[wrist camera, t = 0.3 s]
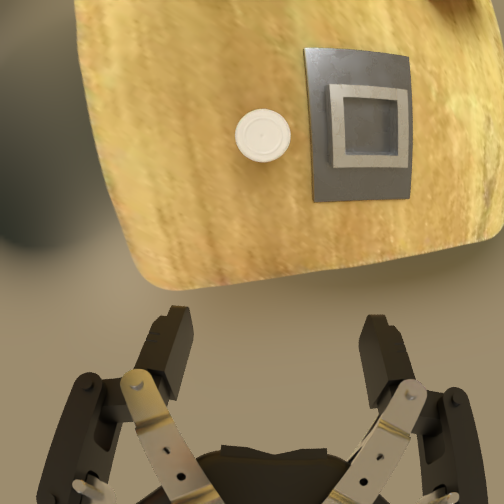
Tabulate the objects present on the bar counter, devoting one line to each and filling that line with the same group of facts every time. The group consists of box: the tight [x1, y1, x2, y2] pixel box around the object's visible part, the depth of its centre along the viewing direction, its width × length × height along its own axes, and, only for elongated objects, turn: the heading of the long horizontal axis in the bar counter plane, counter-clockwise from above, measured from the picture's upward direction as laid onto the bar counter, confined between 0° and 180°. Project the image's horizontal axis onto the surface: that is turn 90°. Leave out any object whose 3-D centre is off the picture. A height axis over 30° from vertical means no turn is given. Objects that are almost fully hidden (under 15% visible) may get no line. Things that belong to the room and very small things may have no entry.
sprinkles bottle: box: [235, 109, 291, 162], centre depth 28 cm, size 5×5×14 cm
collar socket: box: [303, 48, 413, 202], centre depth 32 cm, size 20×14×4 cm
